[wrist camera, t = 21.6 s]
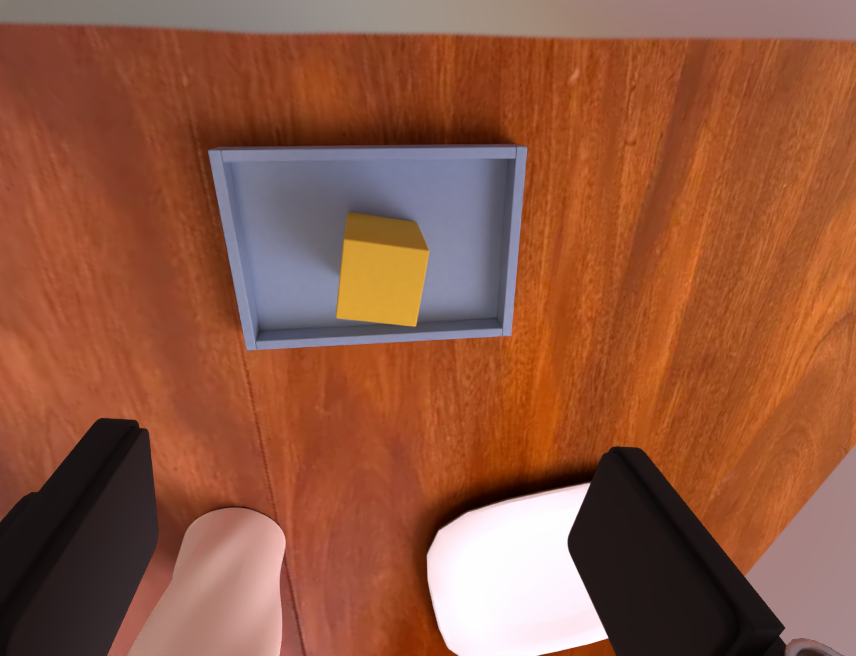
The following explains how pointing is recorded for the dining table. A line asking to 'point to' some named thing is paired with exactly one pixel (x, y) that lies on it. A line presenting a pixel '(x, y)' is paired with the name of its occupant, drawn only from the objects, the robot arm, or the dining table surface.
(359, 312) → the yellow block
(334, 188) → the tray
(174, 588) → the water bottle
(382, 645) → the dining table surface
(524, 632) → the plate
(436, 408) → the dining table surface
